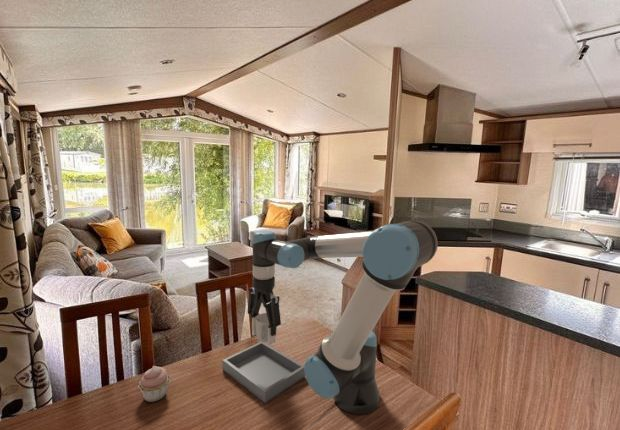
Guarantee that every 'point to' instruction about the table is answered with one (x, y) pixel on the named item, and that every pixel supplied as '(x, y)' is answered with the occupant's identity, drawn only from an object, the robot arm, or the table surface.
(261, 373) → the box
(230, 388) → the table surface
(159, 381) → the cupcake
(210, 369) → the table surface
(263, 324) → the cup
